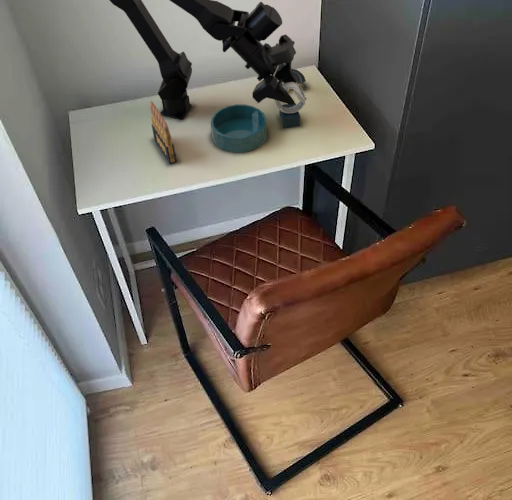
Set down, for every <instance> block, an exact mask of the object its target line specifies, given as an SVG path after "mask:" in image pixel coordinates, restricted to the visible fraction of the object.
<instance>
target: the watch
mask: <svg viewBox="0 0 512 500" xmlns="http://www.w3.org/2000/svg"><path fill="white" fill-rule="evenodd" d="M282 86H283V88H284V89H285V90H286V91H287V90H288V89H289V90H293V93H294V94H295V96H296V97H297V100H298V101H299V102H298V103H296V102H295V103H294V104H293V105H290V104H287V103H284V104H283V103H282V102H281V101H278V100H274V102H275V105H276V107H277V108H278V111H279V112H278V113H279V114H278V115H279V118H280V122H281V126H282V129H288V128H295V127H300V126H301V115H300V112H299V111H301V110H302V109H303V108H304V106H305V105H306V101H307V96H306V94H305V91H304V90H303V89H302V88H301V86H300V85H299V84H298V83H294V82H288V83H282Z"/></svg>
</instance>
